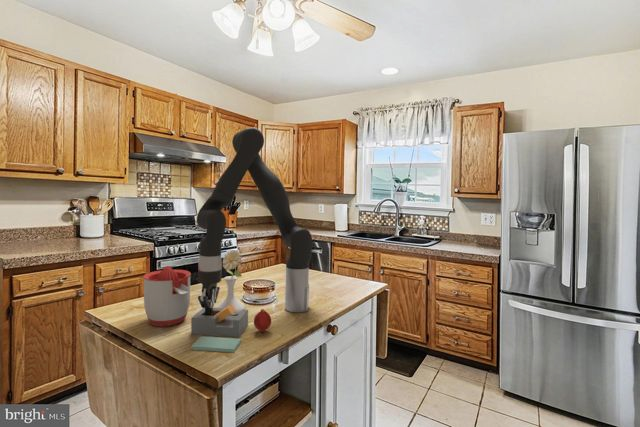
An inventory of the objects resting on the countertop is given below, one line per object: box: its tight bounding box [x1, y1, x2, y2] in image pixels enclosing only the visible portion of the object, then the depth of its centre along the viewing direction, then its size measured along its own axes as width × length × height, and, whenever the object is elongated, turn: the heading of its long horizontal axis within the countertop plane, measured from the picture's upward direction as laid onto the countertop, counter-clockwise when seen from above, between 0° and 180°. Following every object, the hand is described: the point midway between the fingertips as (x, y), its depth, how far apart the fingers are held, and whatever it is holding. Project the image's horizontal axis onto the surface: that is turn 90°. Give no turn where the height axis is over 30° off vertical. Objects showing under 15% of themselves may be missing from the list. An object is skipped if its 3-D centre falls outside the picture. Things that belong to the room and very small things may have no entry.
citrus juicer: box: [142, 265, 192, 328], centre depth 121 cm, size 16×17×20 cm
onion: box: [253, 308, 272, 333], centre depth 114 cm, size 6×6×8 cm
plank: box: [214, 304, 235, 323], centre depth 116 cm, size 10×4×2 cm
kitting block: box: [190, 307, 249, 338], centre depth 116 cm, size 16×10×6 cm, turn 85°
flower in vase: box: [215, 249, 246, 316], centre depth 130 cm, size 13×11×25 cm
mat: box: [190, 335, 242, 353], centre depth 104 cm, size 13×7×1 cm, turn 85°
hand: (208, 318), depth 116 cm, fingers closed
